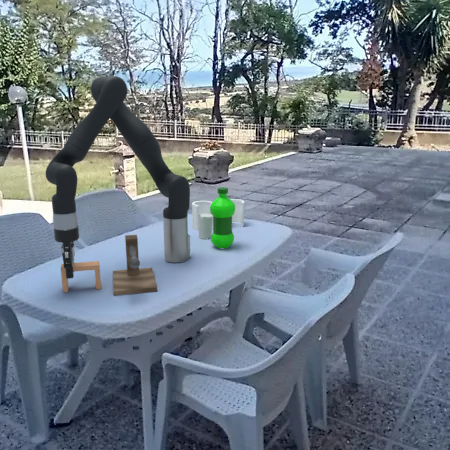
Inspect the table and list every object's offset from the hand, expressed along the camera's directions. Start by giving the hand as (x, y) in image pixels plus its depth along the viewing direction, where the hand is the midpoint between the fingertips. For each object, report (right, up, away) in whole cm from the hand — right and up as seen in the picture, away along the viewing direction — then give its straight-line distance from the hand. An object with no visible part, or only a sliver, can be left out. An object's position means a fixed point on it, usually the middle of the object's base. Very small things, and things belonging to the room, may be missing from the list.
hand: (70, 274), depth 157 cm
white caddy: (+48, +15, +72) cm, 87 cm away
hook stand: (+20, -4, +4) cm, 21 cm away
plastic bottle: (+50, +7, +43) cm, 66 cm away
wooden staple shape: (+3, -5, +2) cm, 6 cm away
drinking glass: (+42, +11, +55) cm, 70 cm away
